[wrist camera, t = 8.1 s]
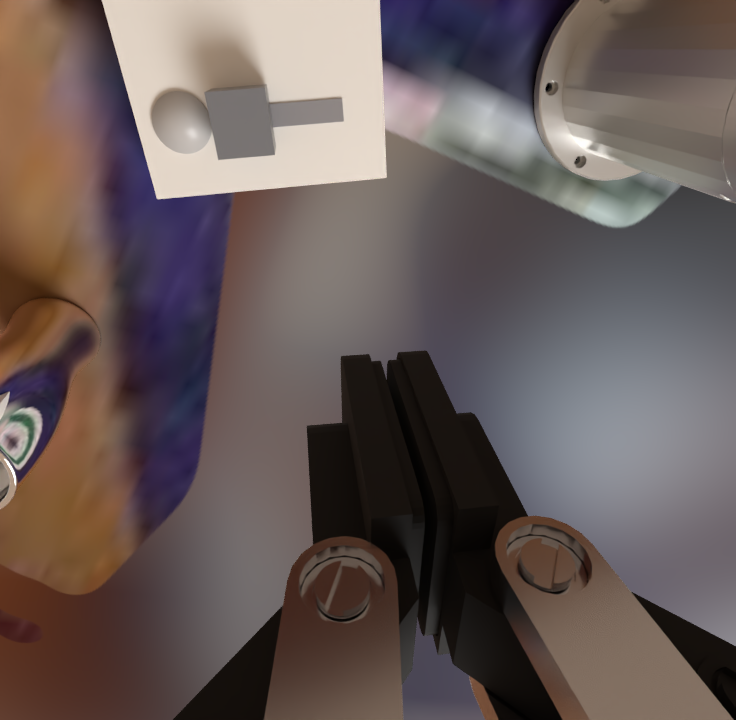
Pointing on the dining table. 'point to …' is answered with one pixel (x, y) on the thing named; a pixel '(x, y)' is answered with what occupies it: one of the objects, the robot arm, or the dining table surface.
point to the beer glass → (38, 381)
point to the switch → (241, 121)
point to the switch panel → (254, 67)
